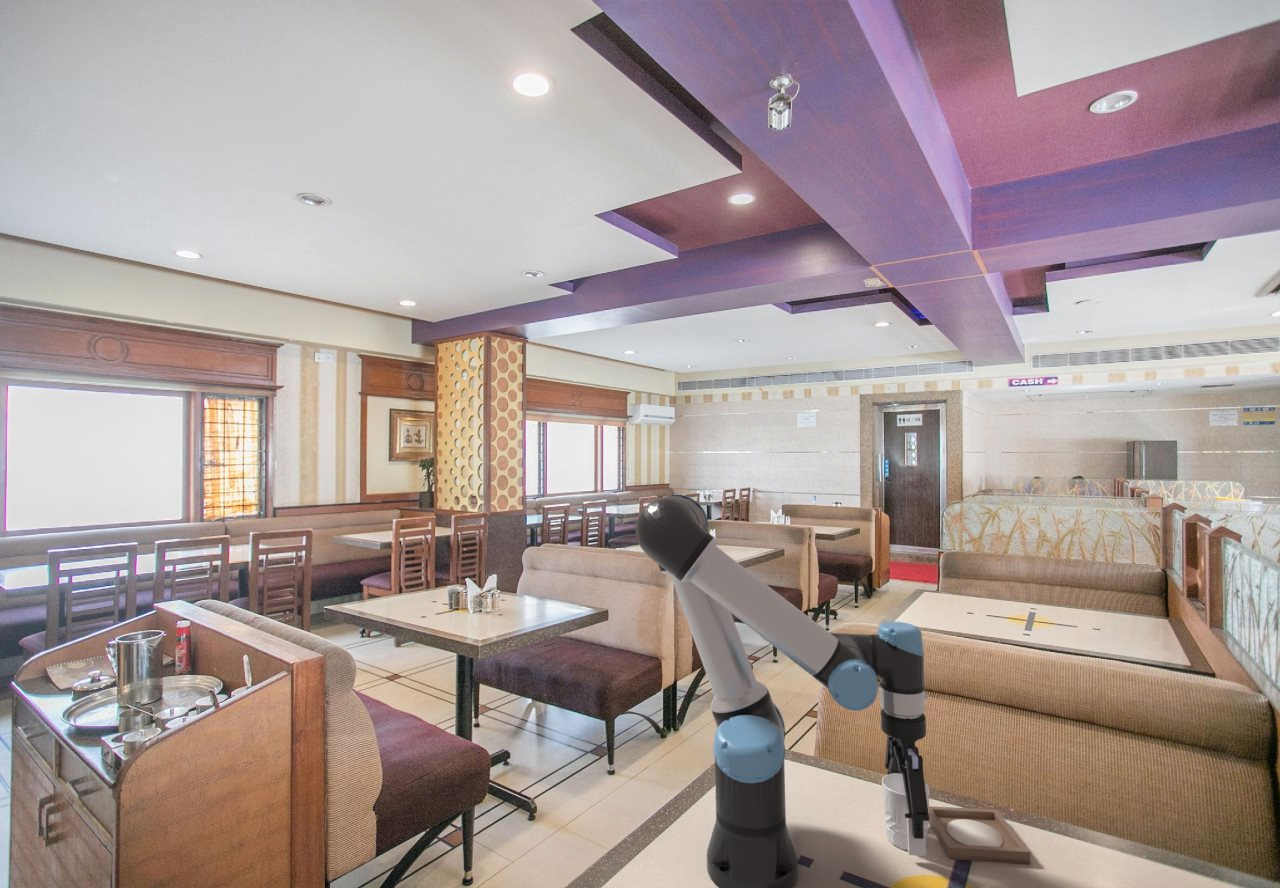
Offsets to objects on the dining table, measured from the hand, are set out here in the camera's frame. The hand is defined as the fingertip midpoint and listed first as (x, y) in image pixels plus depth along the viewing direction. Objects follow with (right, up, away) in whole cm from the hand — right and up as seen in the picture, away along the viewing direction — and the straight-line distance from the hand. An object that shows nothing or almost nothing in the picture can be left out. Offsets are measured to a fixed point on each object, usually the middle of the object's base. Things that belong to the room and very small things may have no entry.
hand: (906, 833), depth 114 cm
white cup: (0, -1, 0) cm, 1 cm away
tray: (+12, -1, 0) cm, 12 cm away
